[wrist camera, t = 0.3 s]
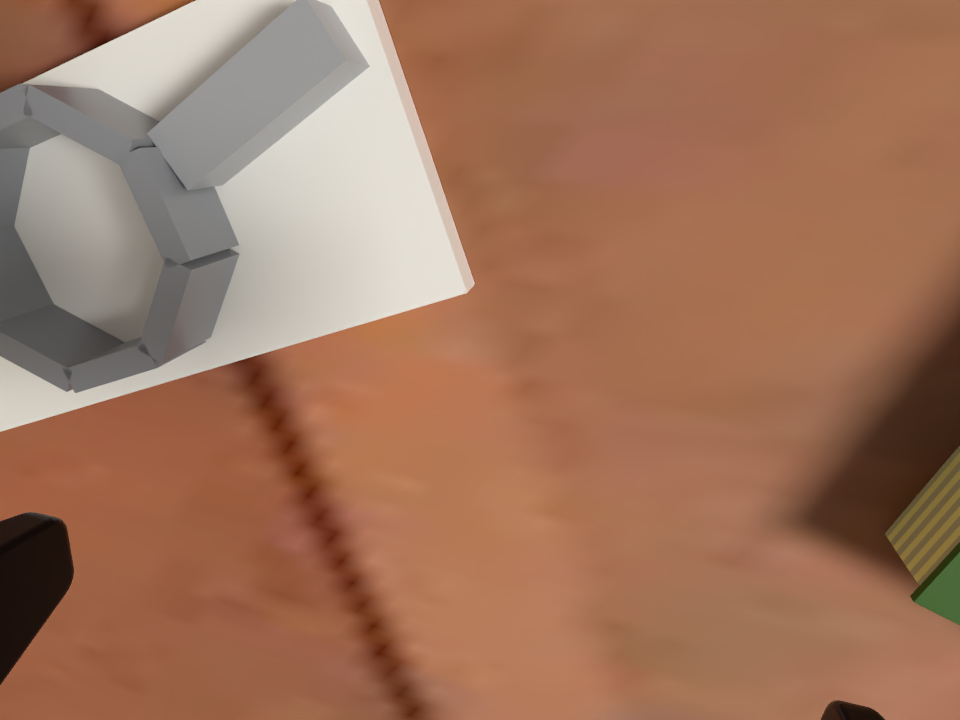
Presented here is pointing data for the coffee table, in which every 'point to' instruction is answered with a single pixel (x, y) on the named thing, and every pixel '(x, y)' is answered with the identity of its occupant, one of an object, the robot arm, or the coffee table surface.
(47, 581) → the robot arm
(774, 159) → the coffee table surface
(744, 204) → the coffee table surface
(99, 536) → the coffee table surface
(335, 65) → the coupling stand
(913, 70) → the coffee table surface
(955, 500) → the hardcover book
